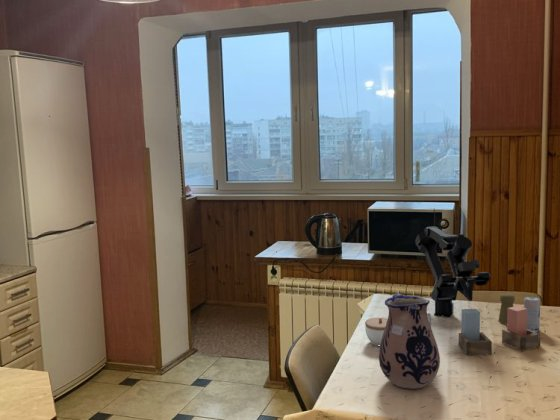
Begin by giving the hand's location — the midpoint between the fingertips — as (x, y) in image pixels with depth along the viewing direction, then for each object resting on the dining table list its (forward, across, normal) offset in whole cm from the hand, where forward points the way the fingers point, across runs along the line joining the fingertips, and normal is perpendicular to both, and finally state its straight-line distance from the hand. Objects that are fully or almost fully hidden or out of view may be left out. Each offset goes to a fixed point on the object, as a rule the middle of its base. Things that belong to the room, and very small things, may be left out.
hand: (471, 300), depth 198 cm
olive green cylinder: (+2, +20, +17) cm, 26 cm away
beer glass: (+21, -25, -2) cm, 33 cm away
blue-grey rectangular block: (+16, -4, +3) cm, 17 cm away
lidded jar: (+10, -34, +9) cm, 37 cm away
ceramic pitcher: (+32, -36, -13) cm, 49 cm away
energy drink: (+9, +24, +10) cm, 27 cm away
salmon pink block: (+16, +12, +2) cm, 20 cm away
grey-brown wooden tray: (+18, +13, +1) cm, 22 cm away
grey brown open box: (+19, -5, 0) cm, 20 cm away
